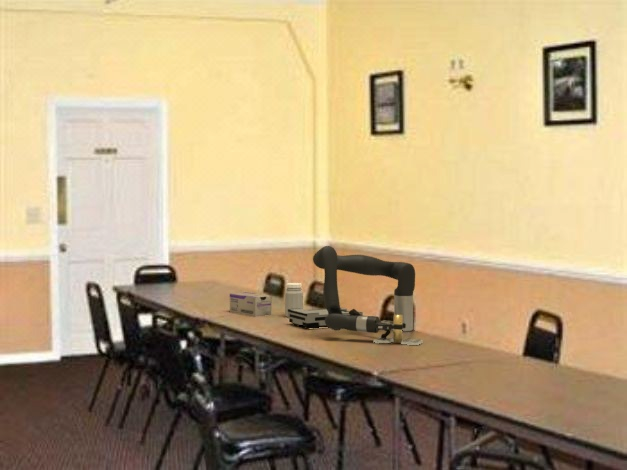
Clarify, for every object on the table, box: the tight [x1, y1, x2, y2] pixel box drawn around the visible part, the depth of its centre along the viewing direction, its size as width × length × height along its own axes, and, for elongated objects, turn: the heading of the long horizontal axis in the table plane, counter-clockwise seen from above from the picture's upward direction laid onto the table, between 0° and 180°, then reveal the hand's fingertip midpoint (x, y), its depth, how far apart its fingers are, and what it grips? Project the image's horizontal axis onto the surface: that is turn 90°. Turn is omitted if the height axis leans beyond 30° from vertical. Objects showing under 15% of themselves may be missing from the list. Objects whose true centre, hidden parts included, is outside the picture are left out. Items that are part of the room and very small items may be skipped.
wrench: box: [348, 308, 391, 338], centre depth 456 cm, size 5×5×30 cm
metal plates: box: [373, 336, 424, 346], centre depth 438 cm, size 8×20×2 cm, turn 67°
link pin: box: [392, 314, 403, 343], centre depth 438 cm, size 4×4×12 cm
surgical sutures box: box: [229, 291, 272, 318], centre depth 538 cm, size 25×11×11 cm, turn 38°
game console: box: [287, 307, 364, 329], centre depth 494 cm, size 21×32×8 cm, turn 119°
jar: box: [284, 282, 304, 318], centre depth 524 cm, size 10×10×18 cm
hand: (403, 326), depth 436 cm, fingers closed on link pin, 4 cm apart
